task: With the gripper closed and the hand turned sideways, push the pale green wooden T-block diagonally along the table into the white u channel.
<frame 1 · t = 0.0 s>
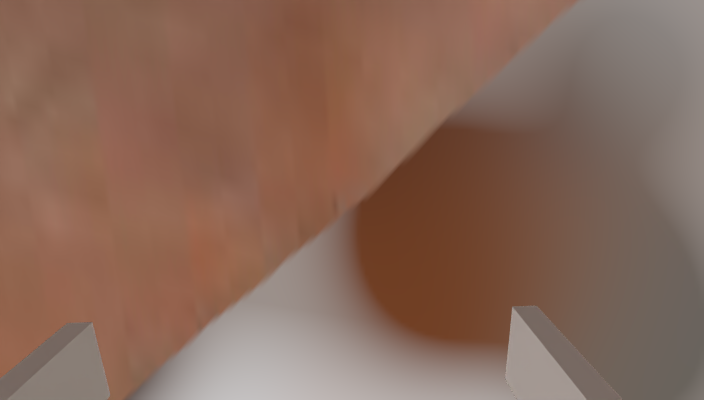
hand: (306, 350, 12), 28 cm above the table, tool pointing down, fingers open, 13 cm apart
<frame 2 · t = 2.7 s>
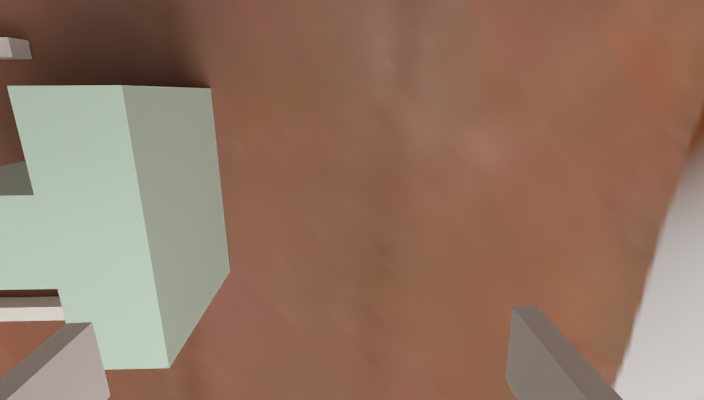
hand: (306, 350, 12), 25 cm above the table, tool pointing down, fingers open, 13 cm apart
white u channel: (18, 188, 35), on the table
t block: (136, 187, 36), on the table
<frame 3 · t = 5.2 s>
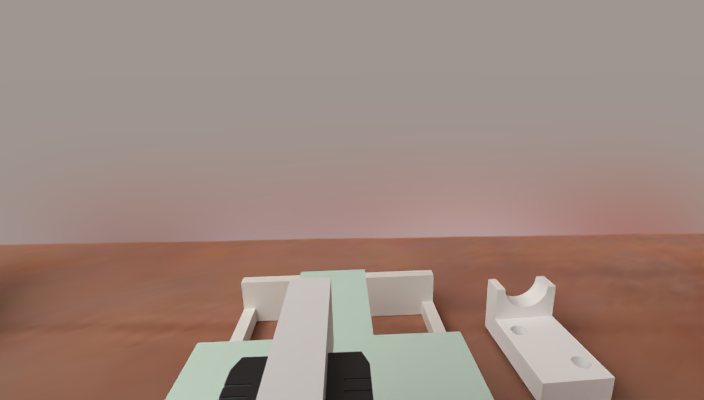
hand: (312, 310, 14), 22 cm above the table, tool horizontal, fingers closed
bracket: (537, 366, 43), on the table
white u channel: (339, 371, 42), on the table
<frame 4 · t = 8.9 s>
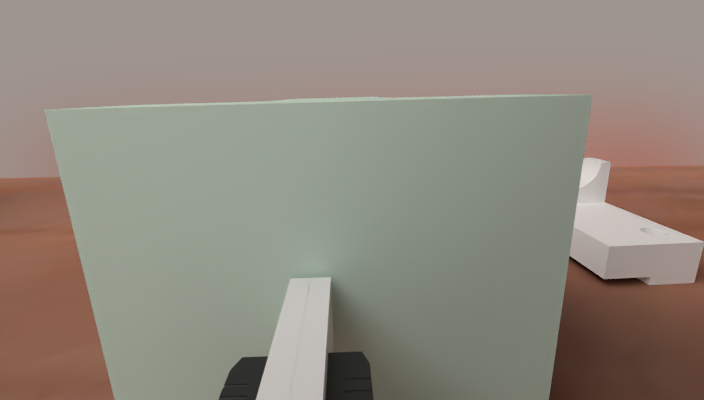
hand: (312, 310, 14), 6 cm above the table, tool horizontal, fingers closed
bracket: (590, 254, 34), on the table
t block: (339, 327, 24), on the table, touching gripper
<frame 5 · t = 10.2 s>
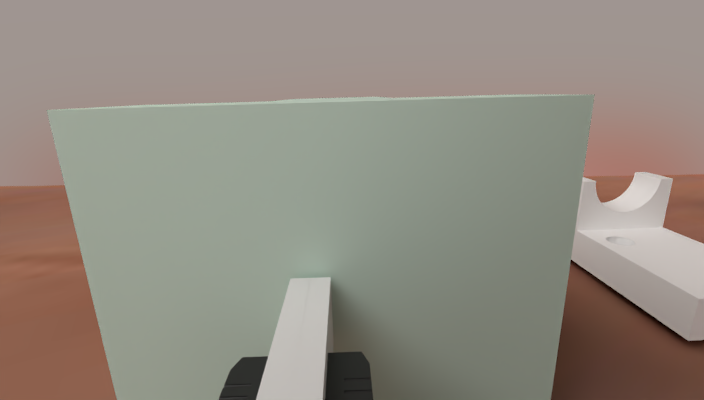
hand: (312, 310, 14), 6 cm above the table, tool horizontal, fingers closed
bracket: (650, 295, 27), on the table
t block: (340, 327, 24), on the table, touching gripper
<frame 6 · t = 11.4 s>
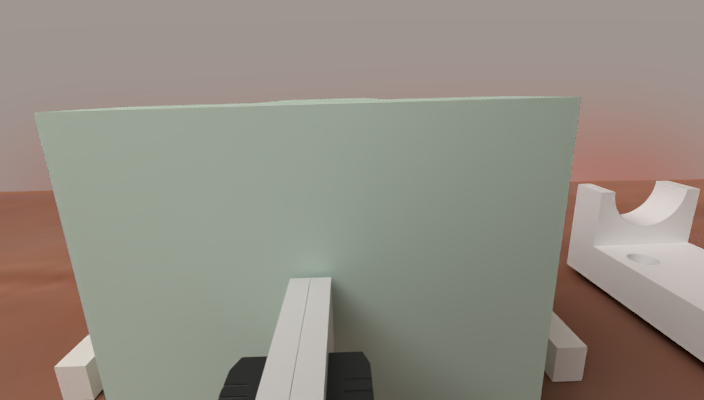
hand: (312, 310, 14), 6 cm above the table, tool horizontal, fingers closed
bracket: (677, 320, 24), on the table
white u channel: (328, 340, 23), on the table
t block: (333, 328, 24), on the table, touching gripper
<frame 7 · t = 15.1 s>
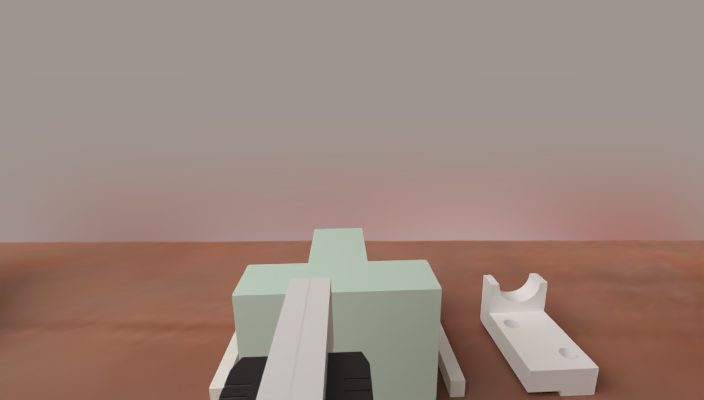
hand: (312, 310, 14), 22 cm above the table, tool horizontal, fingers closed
bracket: (528, 357, 45), on the table
white u channel: (338, 373, 42), on the table
t block: (341, 365, 43), on the table
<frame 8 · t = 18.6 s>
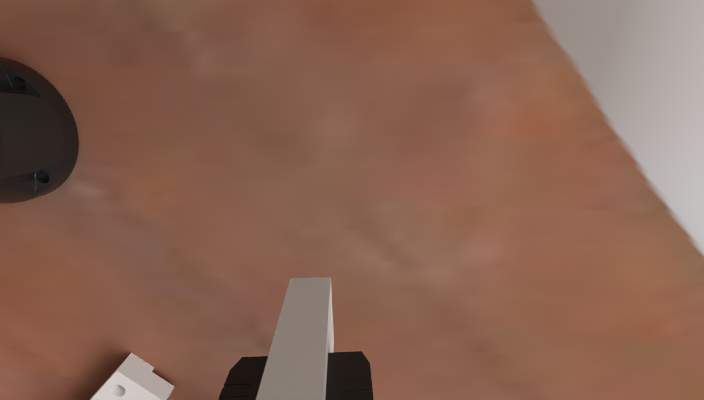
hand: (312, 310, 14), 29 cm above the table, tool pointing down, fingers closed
bracket: (128, 395, 51), on the table
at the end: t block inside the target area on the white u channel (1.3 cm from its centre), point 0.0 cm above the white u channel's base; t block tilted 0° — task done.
